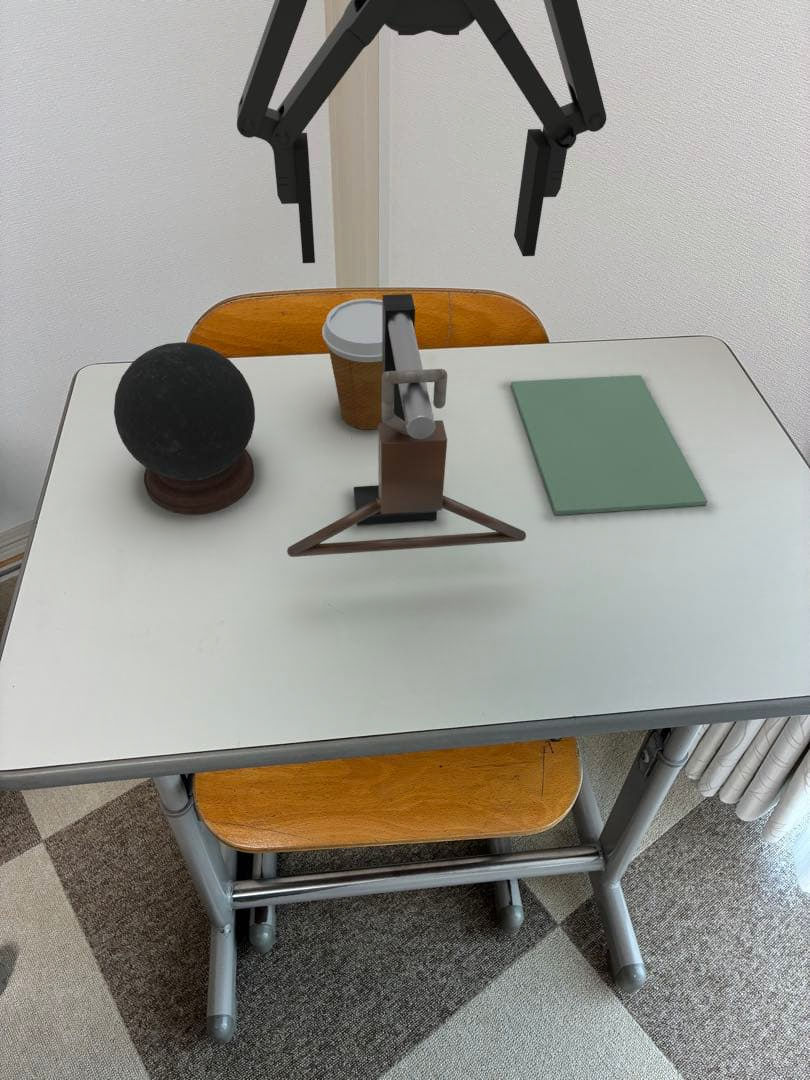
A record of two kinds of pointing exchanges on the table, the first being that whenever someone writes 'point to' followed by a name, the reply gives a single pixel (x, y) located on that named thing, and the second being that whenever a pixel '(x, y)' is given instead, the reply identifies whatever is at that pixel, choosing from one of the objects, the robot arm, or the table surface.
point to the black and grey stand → (401, 394)
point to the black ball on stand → (187, 426)
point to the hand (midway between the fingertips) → (417, 249)
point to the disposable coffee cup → (357, 359)
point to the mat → (604, 446)
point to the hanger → (408, 483)
